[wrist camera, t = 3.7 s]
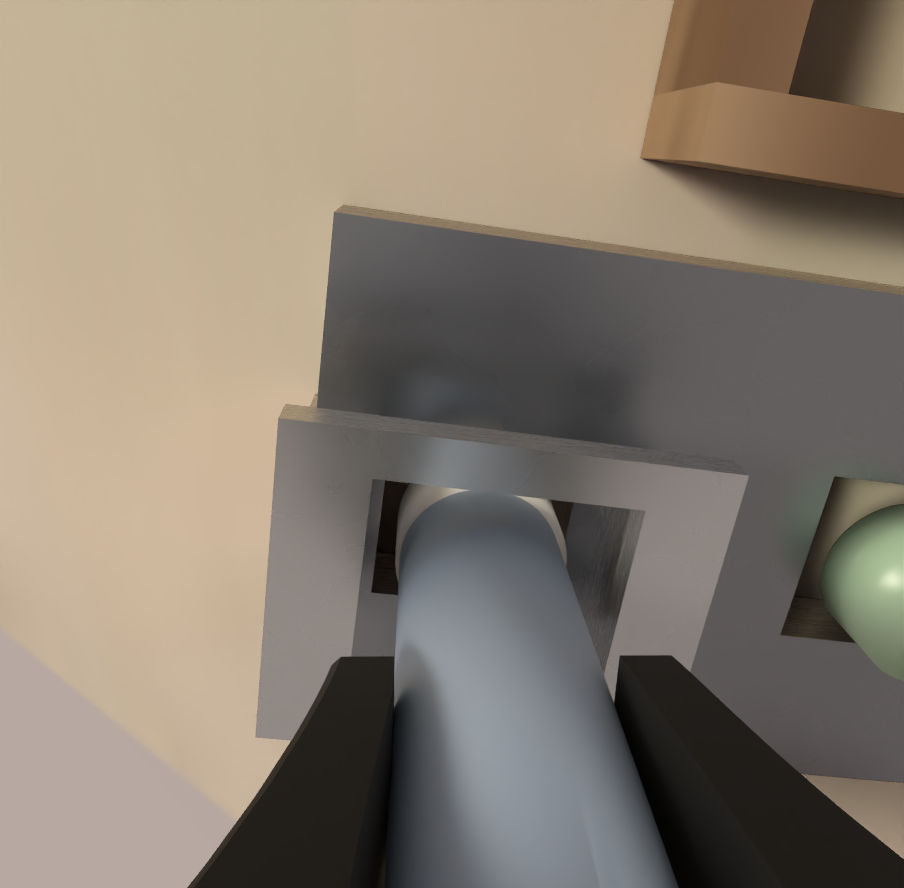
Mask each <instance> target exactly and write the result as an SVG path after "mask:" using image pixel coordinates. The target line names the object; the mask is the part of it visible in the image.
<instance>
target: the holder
mask: <svg viewBox="0 0 904 888" xmlns="http://www.w3.org/2000/svg"><path fill="white" fill-rule="evenodd" d="M812 4H813V0H674V5H673V9H672V14H671V19H670V23H669V28H668V32H667V37H666V42H665V46H664V51H663V56H662V60H661V65H660V70H659V74H658V79H657V84H656V88H655V93H654V98H653V102H652V107H651V111H650V116H649V121H648V125H647V130H646V135H645V139H644V144H643V149H642V153H641V158H644V159H651V160H657V161H663V162H670V163H676V164H682V165H689V166H695V167H701V168H708V169H714V170H720V171H727V172H733V173H739V174H746V175H752V176H758V177H765V178H771V179H778V180H784V181H790V182H797V183H803V184H809V185H816V186H822V187H828V188H835V189H841V190H847V191H854V192H860V193H866V194H873V195H879V196H885V197H892V198H898V199H904V113H898V112H893V111H887V110H881V109H875V108H869V107H863V106H857V105H851V104H845V103H839V102H833V101H827V100H821V99H815V98H809V97H803V96H797V95H791V94H788V93H789V89H790V86H791V82H792V78H793V75H794V71H795V67H796V63H797V60H798V56H799V52H800V49H801V45H802V41H803V37H804V34H805V30H806V26H807V23H808V19H809V15H810V12H811V8H812Z"/></svg>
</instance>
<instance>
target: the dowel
mask: <svg viewBox="0 0 904 888" xmlns="http://www.w3.org/2000/svg"><path fill="white" fill-rule="evenodd" d="M384 888H679V887H678V884H677V881H676V879H675V876H674V873H673V870H672V867H671V864H670V861H669V859H668V856H667V853H666V850H665V847H664V844H663V842H662V839H661V836H660V833H659V830H658V827H657V824H656V822H655V819H654V816H653V813H652V810H651V807H650V805H649V802H648V799H647V796H646V793H645V790H644V787H643V785H642V782H641V779H640V776H639V773H638V770H637V768H636V765H635V762H634V759H633V756H632V753H631V750H630V748H629V745H628V742H627V739H626V736H625V733H624V731H623V728H622V725H621V722H620V719H619V716H618V713H617V711H616V708H615V705H614V702H613V699H612V696H611V694H610V691H609V688H608V685H607V682H606V679H605V676H604V674H603V671H602V668H601V665H600V662H599V659H598V657H597V654H596V651H595V648H594V645H593V642H592V639H591V637H590V634H589V631H588V628H587V625H586V622H585V619H584V617H583V614H582V611H581V608H580V605H579V602H578V600H577V597H576V594H575V591H574V588H573V585H572V582H571V580H570V577H569V574H568V571H567V568H566V565H565V563H564V560H563V557H562V554H561V551H560V548H559V545H558V543H557V540H556V537H555V534H554V532H553V530H552V528H551V526H550V525H549V523H548V522H547V520H546V519H545V517H544V516H543V515H542V514H541V513H540V512H539V511H538V510H537V509H536V508H534V507H533V506H532V505H531V504H529V503H528V502H526V501H524V500H523V499H521V498H519V497H516V496H514V495H507V494H498V493H490V492H481V491H472V490H468V491H462V492H458V493H455V494H452V495H449V496H447V497H445V498H442V499H440V500H439V501H437V502H435V503H434V504H432V505H431V506H429V507H428V508H427V509H425V510H424V511H423V512H422V513H421V514H420V515H419V516H418V517H417V518H416V519H415V521H414V522H413V523H412V525H411V526H410V528H409V530H408V531H407V533H406V535H405V538H404V540H403V543H402V547H401V551H400V562H399V583H398V605H397V627H396V648H395V670H394V728H393V752H392V774H391V784H390V793H389V805H388V822H387V844H386V865H385V887H384Z"/></svg>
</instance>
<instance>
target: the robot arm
mask: <svg viewBox="0 0 904 888" xmlns="http://www.w3.org/2000/svg"><path fill="white" fill-rule="evenodd" d="M614 705H615V708H616V711H617V713H618V716H619V719H620V722H621V725H622V728H623V731H624V733H625V736H626V739H627V742H628V745H629V748H630V750H631V753H632V756H633V759H634V762H635V765H636V768H637V770H638V773H639V776H640V779H641V782H642V785H643V787H644V790H645V793H646V796H647V799H648V802H649V805H650V807H651V810H652V813H653V816H654V819H655V822H656V824H657V827H658V830H659V833H660V836H661V839H662V842H663V844H664V847H665V850H666V853H667V856H668V859H669V861H670V864H671V867H672V870H673V873H674V876H675V879H676V881H677V884H678V887H679V888H904V859H903V858H901V857H900V856H899V855H898V854H896V853H895V852H894V851H893V850H891V849H890V848H889V847H888V846H886V845H885V844H884V843H883V842H881V841H880V840H879V839H878V838H876V837H875V836H874V835H873V834H872V833H870V832H869V831H868V830H867V829H865V828H864V827H863V826H862V825H860V824H859V823H858V822H857V821H855V820H854V819H853V818H852V817H850V816H849V815H848V814H847V813H846V812H844V811H843V810H842V809H841V808H840V807H839V806H837V805H836V804H835V803H834V802H833V801H831V800H830V799H829V798H828V797H827V796H826V795H824V794H823V793H822V792H821V791H820V790H819V789H817V788H816V787H815V786H814V785H813V784H812V783H810V782H809V781H808V780H807V779H806V778H805V777H804V776H802V775H801V774H800V773H799V772H798V771H797V770H796V769H795V768H793V767H792V766H791V765H790V764H789V763H788V762H787V761H786V760H784V759H783V758H782V757H781V756H780V755H779V754H778V753H777V752H775V751H774V750H773V749H772V748H771V747H770V746H769V745H768V744H767V743H766V742H765V741H763V740H762V739H761V738H760V737H759V736H758V735H757V734H756V733H755V732H754V731H753V730H751V729H750V728H749V727H748V726H747V725H746V724H745V723H744V722H743V721H742V720H741V719H740V718H739V717H738V716H736V715H735V714H734V713H733V712H732V711H731V710H730V709H729V708H728V707H727V706H726V705H725V704H724V703H723V702H721V701H720V700H719V699H718V698H717V697H716V696H715V695H714V694H713V693H712V692H711V691H710V690H709V689H708V688H707V687H706V686H705V685H703V684H702V683H701V682H700V681H699V680H698V679H697V678H696V677H695V676H694V675H693V674H692V673H691V672H690V671H689V670H687V669H686V668H685V667H684V666H683V665H682V664H681V663H680V662H679V661H677V660H676V659H675V658H674V657H673V656H672V655H620V657H619V665H618V673H617V682H616V690H615V699H614ZM393 728H394V656H353V657H340V658H339V659H338V660H337V661H335V662H334V663H333V664H332V665H331V667H330V669H329V672H328V674H327V676H326V679H325V681H324V683H323V685H322V687H321V689H320V691H319V693H318V695H317V697H316V699H315V700H314V702H313V704H312V706H311V708H310V710H309V711H308V713H307V715H306V717H305V718H304V720H303V722H302V723H301V725H300V727H299V729H298V730H297V732H296V734H295V735H294V737H293V739H292V740H291V742H290V744H289V745H288V747H287V748H286V750H285V751H284V753H283V754H282V756H281V758H280V759H279V761H278V762H277V764H276V765H275V767H274V768H273V770H272V772H271V773H270V775H269V776H268V778H267V779H266V781H265V782H264V784H263V786H262V787H261V789H260V790H259V792H258V793H257V794H256V796H255V797H254V799H253V800H252V802H251V803H250V805H249V806H248V807H247V809H246V810H245V811H244V813H243V814H242V816H241V817H240V818H239V820H238V821H237V822H236V824H235V825H234V827H233V828H232V830H231V831H230V832H229V833H228V835H227V836H226V837H225V839H224V840H223V842H222V843H221V844H220V846H219V847H218V848H217V850H216V851H215V853H214V854H213V855H212V857H211V858H210V859H209V861H208V862H207V863H206V865H205V866H204V867H203V869H202V870H201V871H200V872H199V874H198V875H197V876H196V878H195V879H194V880H193V881H192V882H191V884H190V885H189V886H188V888H384V887H385V865H386V844H387V822H388V805H389V793H390V784H391V774H392V752H393Z"/></svg>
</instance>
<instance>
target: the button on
mask: <svg viewBox="0 0 904 888" xmlns="http://www.w3.org/2000/svg"><path fill="white" fill-rule="evenodd" d="M820 583H821V594H822V598H823V601H824V604H825V606H826V607H827V609H828V611H829V612H830V613H831V615H832V616H833V617H834V618H835V619H836V621H837V622H838V623H839V624H840V625H841V626H842V627H843V629H844V630H845V631H846V632H847V633H848V634H849V635H850V637H851V638H852V639H853V640H854V641H855V642H856V643H857V644H858V646H859V647H860V648H861V649H862V650H863V651H864V652H865V654H866V655H867V656H868V657H869V658H870V659H871V660H872V662H873V663H874V664H875V665H876V666H877V667H878V668H879V669H881V670H882V671H883V672H885V673H886V674H888V675H889V676H892V677H894V678H896V679H899V680H902V681H904V504H900V505H895V506H890V507H886V508H883V509H880V510H878V511H875V512H873V513H871V514H869V515H867V516H865V517H863V518H862V519H860V520H859V521H857V522H856V523H854V524H853V525H852V526H851V527H849V528H848V529H847V530H846V531H845V532H844V533H843V534H842V535H841V536H840V537H839V538H838V540H837V541H836V542H835V544H834V545H833V546H832V548H831V550H830V551H829V553H828V555H827V557H826V560H825V562H824V565H823V569H822V572H821V580H820Z"/></svg>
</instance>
